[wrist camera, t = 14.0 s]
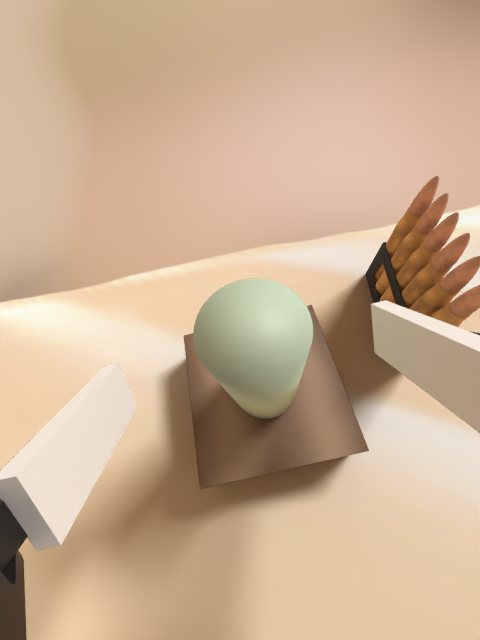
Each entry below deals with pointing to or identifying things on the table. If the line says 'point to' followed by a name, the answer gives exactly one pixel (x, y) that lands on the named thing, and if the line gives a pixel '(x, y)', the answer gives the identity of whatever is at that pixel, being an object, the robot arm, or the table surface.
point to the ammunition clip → (425, 263)
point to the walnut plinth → (271, 421)
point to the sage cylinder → (255, 343)
